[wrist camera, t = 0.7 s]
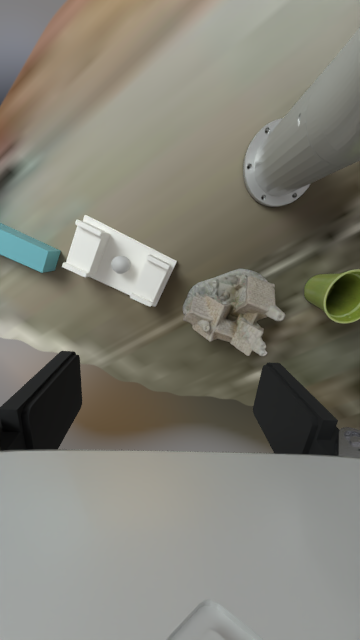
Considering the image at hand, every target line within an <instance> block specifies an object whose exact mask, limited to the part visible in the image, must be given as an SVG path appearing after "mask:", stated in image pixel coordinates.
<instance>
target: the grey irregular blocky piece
mask: <svg viewBox="0 0 360 640" xmlns="http://www.w3.org/2000/svg"><path fill="white" fill-rule="evenodd" d="M274 287H275V285H274V284H271V283H269V282H268V281H267V280H266V279H265V278H264V277H263V276H262V275H260V274H259V273H257V272H254V271H251V270H247V269H237V270H234V271H231V272H228V273H226V274H223V275H220V276H217V277H215V278H211V279H209V280H206V281H203V282H200V283H197V284H196V285H194V286H193V287H192V288H191V289H190V291H189V293H188V295H187V299H186V300H185V303H184V305H183V313H184V315H185V316H184V317H183V319H184V321H187V322H189V323H191V324H192V325H193V329H194V330H195V331H197V332H198V333H199V334H200V335H202V336H204V337H205V338H206V339H207V340H209V341H212V340H216V339H221V340H223V341H228V342H230V343H231V344H232V345H234V346H235V347H236V348H237V349H238V350H240V351H241V352H243V353H244V354H246V355H247V356H250V354H251V352H252V351H254V352H256V353H257V354H259V355H260V356H265V355H266V354H267V352H266V350H265V348H266V345H265V342H264V341H263V340H262V337H261V336H262V334H263V333H264V332H263V330H264V328H261V327H260V326H259V325H258V324H257V321H258V320H260V319H263V318H266V317H267V316H268V317H270V318H271V319H274V320H275V321H282V320H283V319H284V317H285V313H283V312H282V311H281V310H280V309H279V308H278V307H277V306H276V305H275V289H274Z"/></svg>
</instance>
